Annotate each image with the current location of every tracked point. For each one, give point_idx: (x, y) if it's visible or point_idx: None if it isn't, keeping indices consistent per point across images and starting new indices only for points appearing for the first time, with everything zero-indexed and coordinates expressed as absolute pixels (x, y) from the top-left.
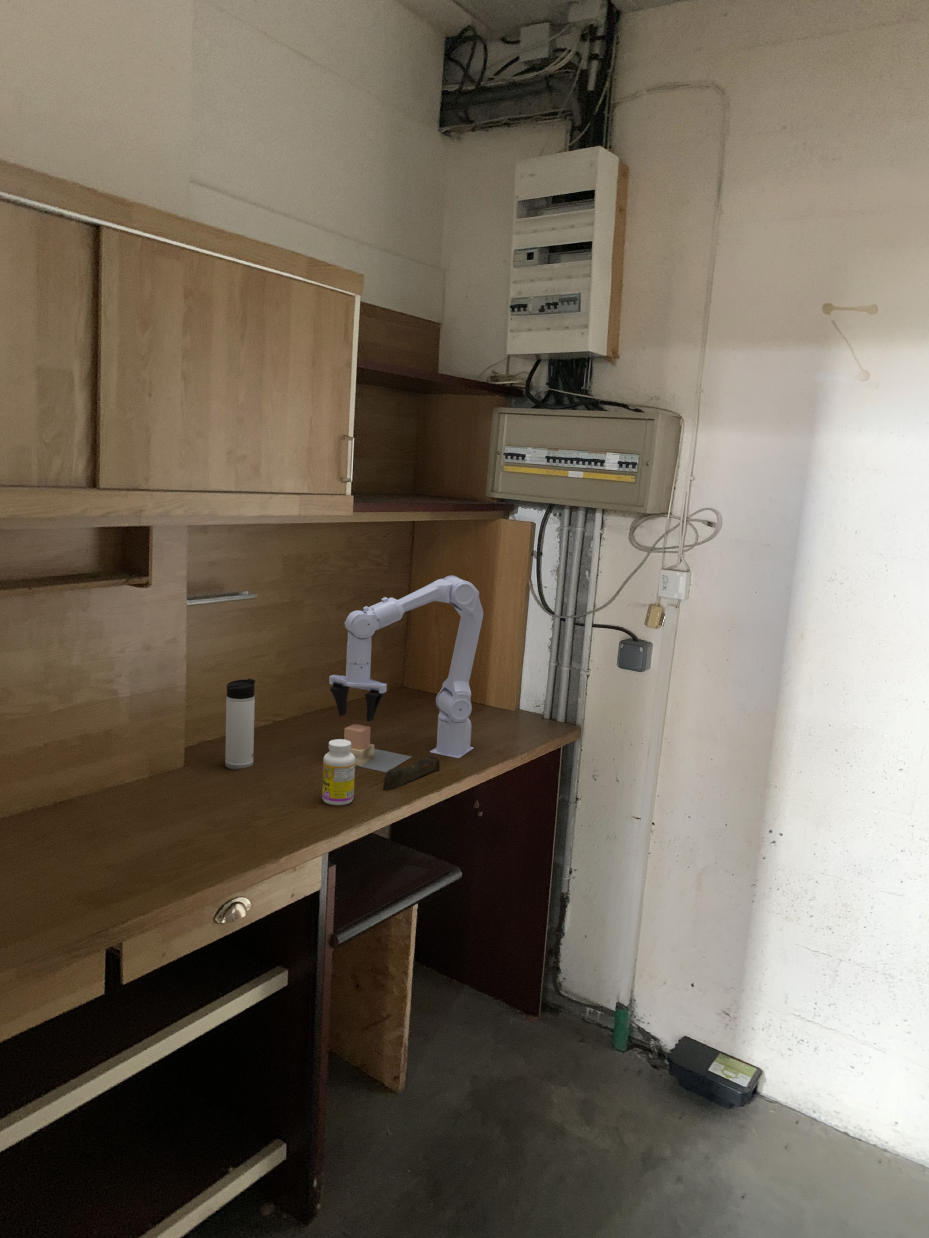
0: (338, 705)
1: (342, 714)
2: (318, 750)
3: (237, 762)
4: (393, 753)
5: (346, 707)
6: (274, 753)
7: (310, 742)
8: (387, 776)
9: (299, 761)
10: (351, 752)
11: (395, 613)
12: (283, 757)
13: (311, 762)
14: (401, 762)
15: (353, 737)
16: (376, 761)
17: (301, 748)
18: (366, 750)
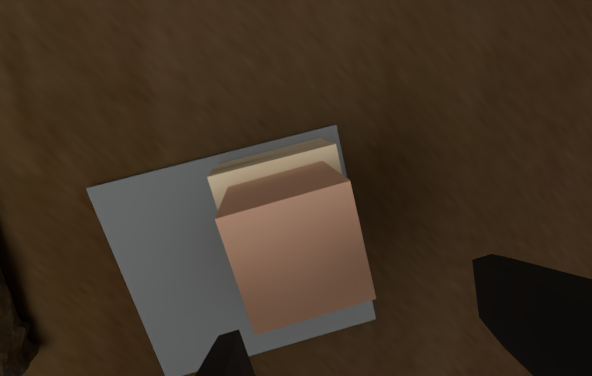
0: (577, 285)
1: (479, 278)
2: (471, 179)
3: None
4: None
5: (521, 363)
6: (577, 21)
7: (546, 217)
8: None
9: (444, 27)
10: (266, 159)
11: None
12: (522, 13)
13: (401, 56)
14: (141, 310)
15: (272, 188)
16: (214, 246)
17: (532, 146)
18: None
